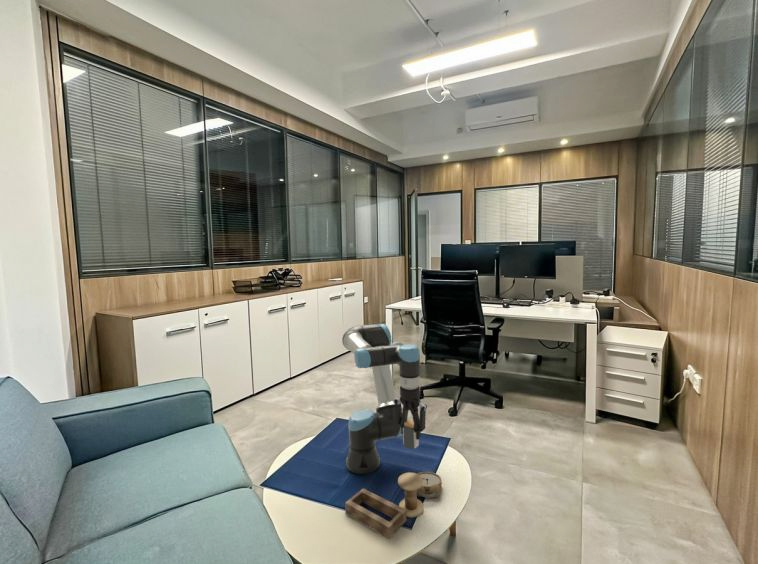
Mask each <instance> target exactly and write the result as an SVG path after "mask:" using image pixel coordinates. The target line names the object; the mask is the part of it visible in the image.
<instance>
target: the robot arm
mask: <svg viewBox="0 0 758 564" xmlns="http://www.w3.org/2000/svg"><path fill="white" fill-rule="evenodd" d="M392 341H393V340H392V335H391V331H390V328H389V327H388V325H386V324H385V323H371V324H363V325H361V324H360V325H354V326H351V327H350V328H348V329H347V330H346V331H345V332H344V333H343V335H342V342H341V343H342V345H343V347H344V348H345V349H346V350H348V351H350V352H352V354H354V355H353V356H354V363H355V367H356V368H358V369H367V368H372V369H371V370H372V375H373V380H374V386H375V393H376V398H377V406H376V407H375V410H376V412H375V411H373V410H372V409H369V408H368V409H367V408H365V409H359V410H356V411H354V412H353V413H351V414H350V416H349V418H348V425H347V427H348V437H349V438H348V439H349V441H348V443H349V449H348V451H347V452H348V453H347V457H346V459H345V462H346V463H345V464H346V469H347V470H348V471H350V473H351V472H352V473H354V474H357V475H365V474H369V473H373V472H375V471H377V469H379V467H380V465H381V458H380V454H379V453H378V449H377V447H376V442H377V441H382V440H386V439H388V440H389V439H393V438H398V437H402V444H403V445H404V427H403V426H404V422H406V421H407V420H409V419H408V416H409V411H410V414H411V416H412V421H414V427H415V431H414V449H417V447H419V445H420V439H421V435H422V434H421V432H423V431H424V430H425V429H426V418H427V417H426V415H427V413H426V410H427V408H428V405H427V404H423V403H422V401H421V399H420V396H421V388H420V385H421V382H420V381H421V379H420V378H421V377H420V376H421V375H420V358H421V356H420V349H419V347H418V345H416V344H412V343H411V344H410V343H409V344H407V343H405V344H404V343H402V342H398V341H396V342H392ZM390 365H398V366H399V367H398V368H399V385H400V387H399V395H400V397H397V396H396V393H395V392H396V391H395V387H394V382H393V377H392V373H391V372H392V371H391V366H390Z"/></svg>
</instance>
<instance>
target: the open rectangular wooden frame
mask: <svg viewBox="0 0 758 564" xmlns="http://www.w3.org/2000/svg"><path fill="white" fill-rule="evenodd" d="M362 503H363V504H364V505H367V506H368V507H371V508H373V509H374V510H376V511H378V512H380V513H382V514H384V515H386V516H388V517H389V518H391V520H386V519H385V518H383V517H381V516H379V515H378V514H376V513H374V512H372V511H370V510H368V509H366V508H365V507H363V506H361V504H362ZM344 506H345V507H344V508H345V509H344V510H345V514H346V515H348V516H349V517H352V518H353V519H355V520H357V521H358V522H359V523H362V524H363V525H365V526H367V527H369V528H370V529H372V530H374V531H375V532H378V533H379V534H381V535H382V536H384V537H386V538H387V539H391V538H392V537H393V536H394V534H396V533H397V532H398V530H399V529H400V528H401V527H403V525H404V523H405V524H406V522H407V517H406V510H405V509H403V508H401V507H399V505H397V504H396V503H393V502H392V501H389V500H387V499H385V498H383V497H381V496H379V495H377V494H375V493H373V492H372V491H370V490H368V489H366V488H362V489H361V490H359V491H357V492H356V493H355V494H354V495H353V496H352V497H350V498H349V499H348V500H347V501H346V502H344Z"/></svg>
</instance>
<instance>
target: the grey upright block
mask: <svg viewBox="0 0 758 564" xmlns="http://www.w3.org/2000/svg"><path fill="white" fill-rule="evenodd" d="M403 427H404V444H403V447H406V448H408V449H411V450H414V449H415V448H414V431H415V427H414V421H413V420H411V419H408V420H407V421H406V422H404V426H403Z"/></svg>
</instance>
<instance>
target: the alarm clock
mask: <svg viewBox="0 0 758 564" xmlns="http://www.w3.org/2000/svg"><path fill="white" fill-rule="evenodd" d="M416 474H418V475H420V476H421V477H422V479H423V485H422V487H421V488H419V489H417V497H421V498H422V497H423V498H428V499H429V498H438V497H439V496H440V494H441V492H442V477H441V476H440V475H438V474H437V473H435V472H432V471H420V472H417V473H416Z"/></svg>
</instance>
